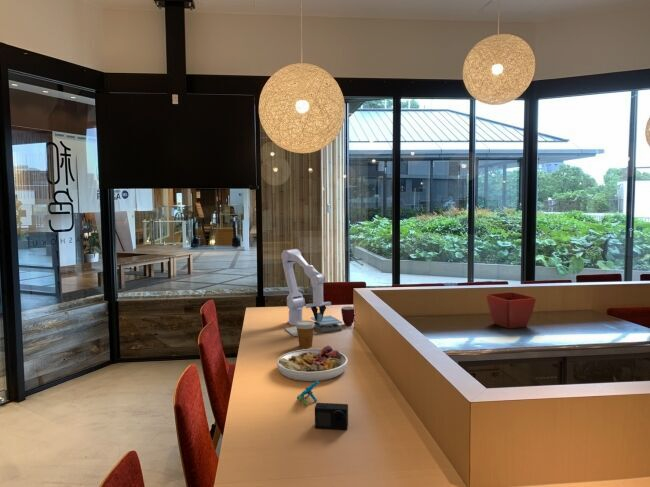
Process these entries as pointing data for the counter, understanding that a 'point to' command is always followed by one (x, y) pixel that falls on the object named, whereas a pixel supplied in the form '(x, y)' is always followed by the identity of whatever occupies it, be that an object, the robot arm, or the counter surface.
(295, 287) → the robot arm
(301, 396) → the blue green plastic toy
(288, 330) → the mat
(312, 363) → the bowl
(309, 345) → the disposable coffee cup
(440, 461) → the counter surface
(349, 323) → the mug
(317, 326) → the grey rectangular tray
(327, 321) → the lid
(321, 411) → the digital camera
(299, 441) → the counter surface
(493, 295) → the plant pot
